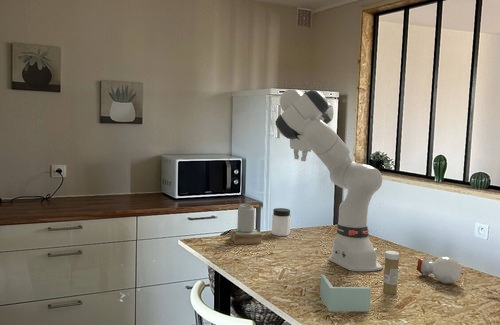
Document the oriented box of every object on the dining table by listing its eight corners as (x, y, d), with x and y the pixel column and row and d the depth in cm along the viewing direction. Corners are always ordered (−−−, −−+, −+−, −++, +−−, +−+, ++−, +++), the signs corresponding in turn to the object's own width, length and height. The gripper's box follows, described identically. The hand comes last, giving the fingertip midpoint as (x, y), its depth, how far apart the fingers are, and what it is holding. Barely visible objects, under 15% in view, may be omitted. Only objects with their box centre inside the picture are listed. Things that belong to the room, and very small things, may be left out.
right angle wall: (369, 313, 137) (370, 288, 136) (329, 313, 136) (330, 288, 135) (357, 297, 149) (358, 274, 148) (319, 297, 148) (320, 274, 147)
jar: (287, 231, 232) (288, 208, 231) (291, 235, 224) (292, 211, 223) (270, 231, 231) (270, 208, 230) (273, 236, 223) (274, 211, 222)
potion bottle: (457, 292, 159) (420, 283, 172) (470, 272, 163) (433, 265, 176) (446, 272, 156) (409, 265, 169) (460, 252, 161) (423, 247, 173)
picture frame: (261, 243, 209) (261, 233, 208) (234, 244, 206) (235, 234, 206) (255, 237, 219) (256, 228, 218) (230, 238, 216) (230, 229, 215)
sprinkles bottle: (380, 289, 155) (382, 250, 154) (393, 289, 155) (396, 250, 154) (385, 295, 150) (388, 254, 149) (399, 294, 151) (402, 254, 150)
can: (256, 231, 213) (257, 205, 212) (247, 234, 207) (248, 207, 206) (243, 228, 217) (244, 203, 216) (234, 231, 211) (234, 205, 210)
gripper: (316, 130, 203) (314, 162, 204) (300, 129, 223) (299, 158, 224) (302, 130, 201) (300, 162, 203) (287, 129, 221) (286, 158, 223)
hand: (299, 160), depth 214 cm, fingers open, 8 cm apart
